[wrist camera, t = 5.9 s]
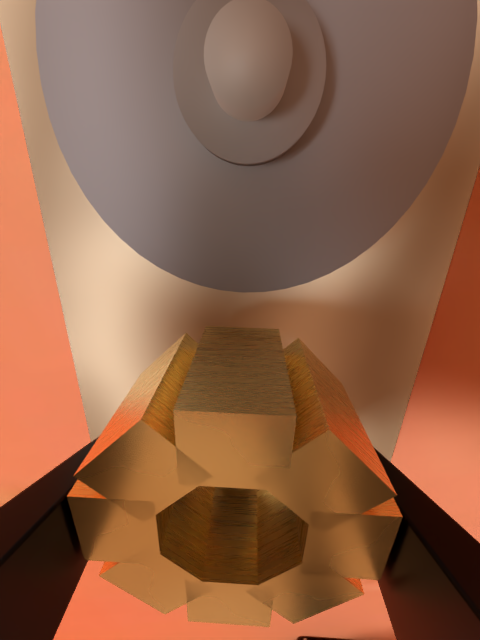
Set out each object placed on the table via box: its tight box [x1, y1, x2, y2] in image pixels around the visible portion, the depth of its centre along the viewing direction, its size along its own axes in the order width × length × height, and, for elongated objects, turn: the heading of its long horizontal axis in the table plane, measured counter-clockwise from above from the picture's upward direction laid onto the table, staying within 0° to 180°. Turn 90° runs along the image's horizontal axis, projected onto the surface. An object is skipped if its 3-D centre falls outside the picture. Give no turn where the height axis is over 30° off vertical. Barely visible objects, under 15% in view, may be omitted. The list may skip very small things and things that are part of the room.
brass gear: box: [67, 326, 403, 627], centre depth 8 cm, size 6×6×4 cm
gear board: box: [0, 0, 480, 462], centre depth 9 cm, size 14×20×6 cm
